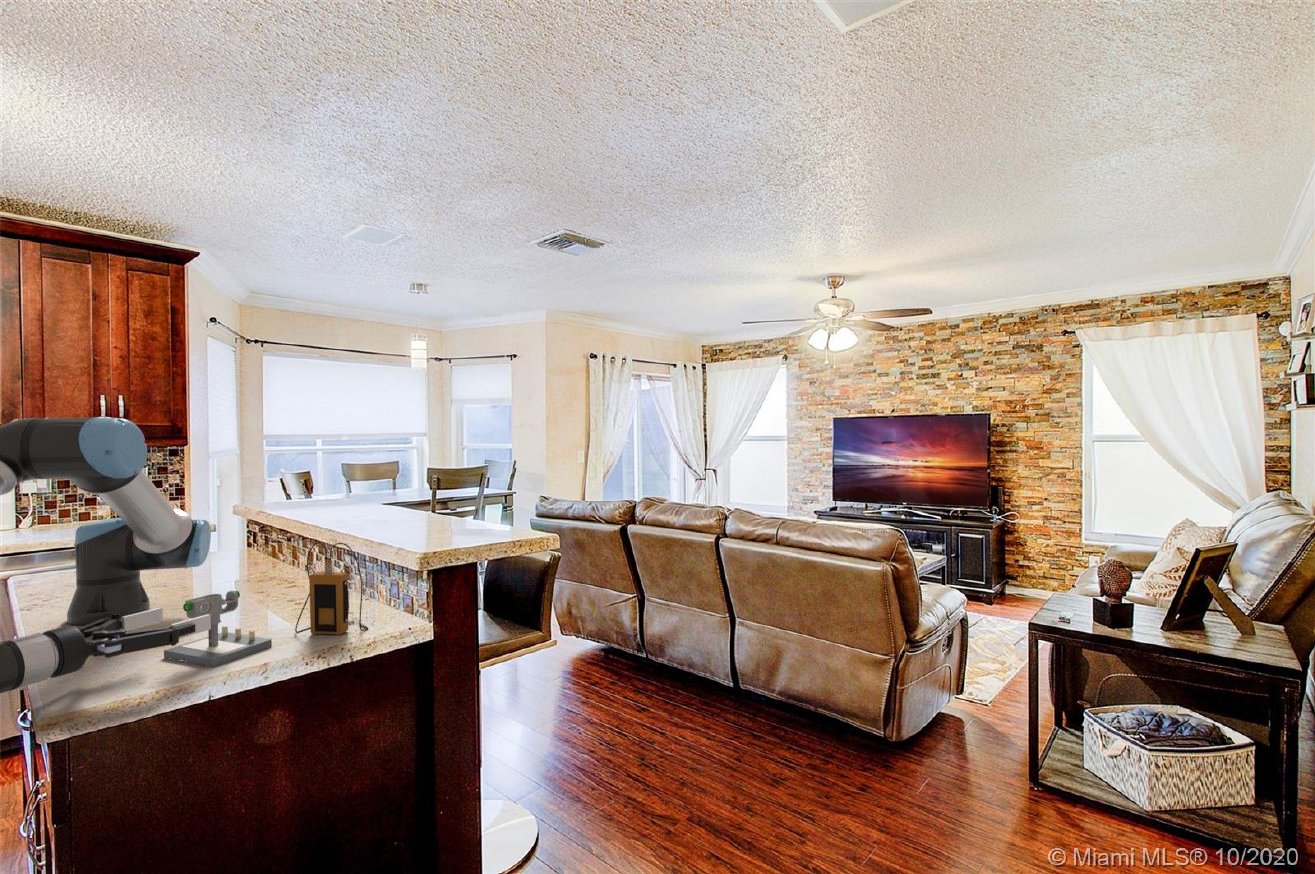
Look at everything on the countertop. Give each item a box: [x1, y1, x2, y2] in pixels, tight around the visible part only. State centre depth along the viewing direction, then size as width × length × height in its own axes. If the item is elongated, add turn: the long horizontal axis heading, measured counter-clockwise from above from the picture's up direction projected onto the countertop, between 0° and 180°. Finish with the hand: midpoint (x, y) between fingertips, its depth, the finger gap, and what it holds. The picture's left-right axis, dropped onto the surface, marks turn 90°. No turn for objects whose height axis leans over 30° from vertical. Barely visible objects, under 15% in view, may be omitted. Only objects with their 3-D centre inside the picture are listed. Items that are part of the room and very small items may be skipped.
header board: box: [163, 625, 273, 668], centre depth 129 cm, size 14×12×4 cm
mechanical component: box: [182, 590, 241, 647], centre depth 128 cm, size 3×10×10 cm, turn 160°
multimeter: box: [294, 541, 369, 636], centre depth 144 cm, size 15×10×20 cm
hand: (185, 618), depth 123 cm, fingers open, 13 cm apart
